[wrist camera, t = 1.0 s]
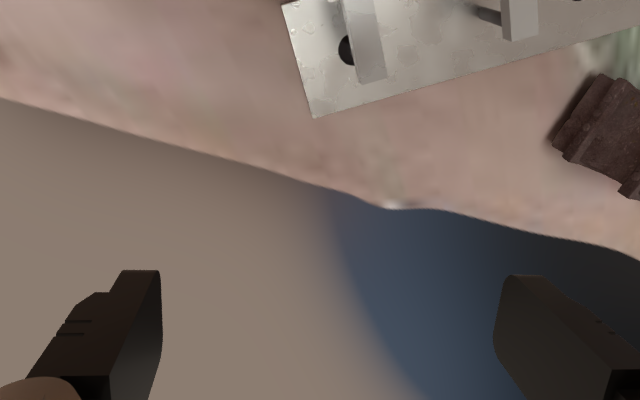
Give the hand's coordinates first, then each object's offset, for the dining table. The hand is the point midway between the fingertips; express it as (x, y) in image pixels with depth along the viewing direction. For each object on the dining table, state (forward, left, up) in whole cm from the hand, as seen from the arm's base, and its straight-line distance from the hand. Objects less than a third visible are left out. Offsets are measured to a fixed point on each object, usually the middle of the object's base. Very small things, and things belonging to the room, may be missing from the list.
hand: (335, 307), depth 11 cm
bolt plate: (0, +14, -27) cm, 30 cm away
